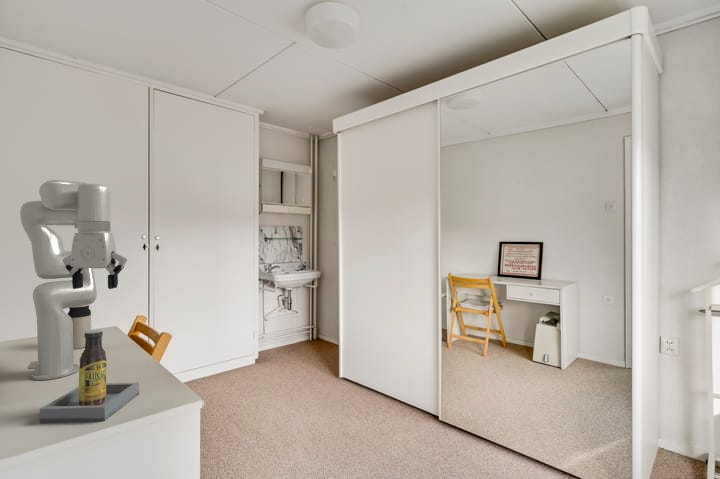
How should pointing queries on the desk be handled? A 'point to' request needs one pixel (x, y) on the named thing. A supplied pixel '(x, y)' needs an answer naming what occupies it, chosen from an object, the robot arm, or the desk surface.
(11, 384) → the desk surface
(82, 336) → the travel mug
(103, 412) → the tray
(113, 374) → the desk surface
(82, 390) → the sauce bottle
